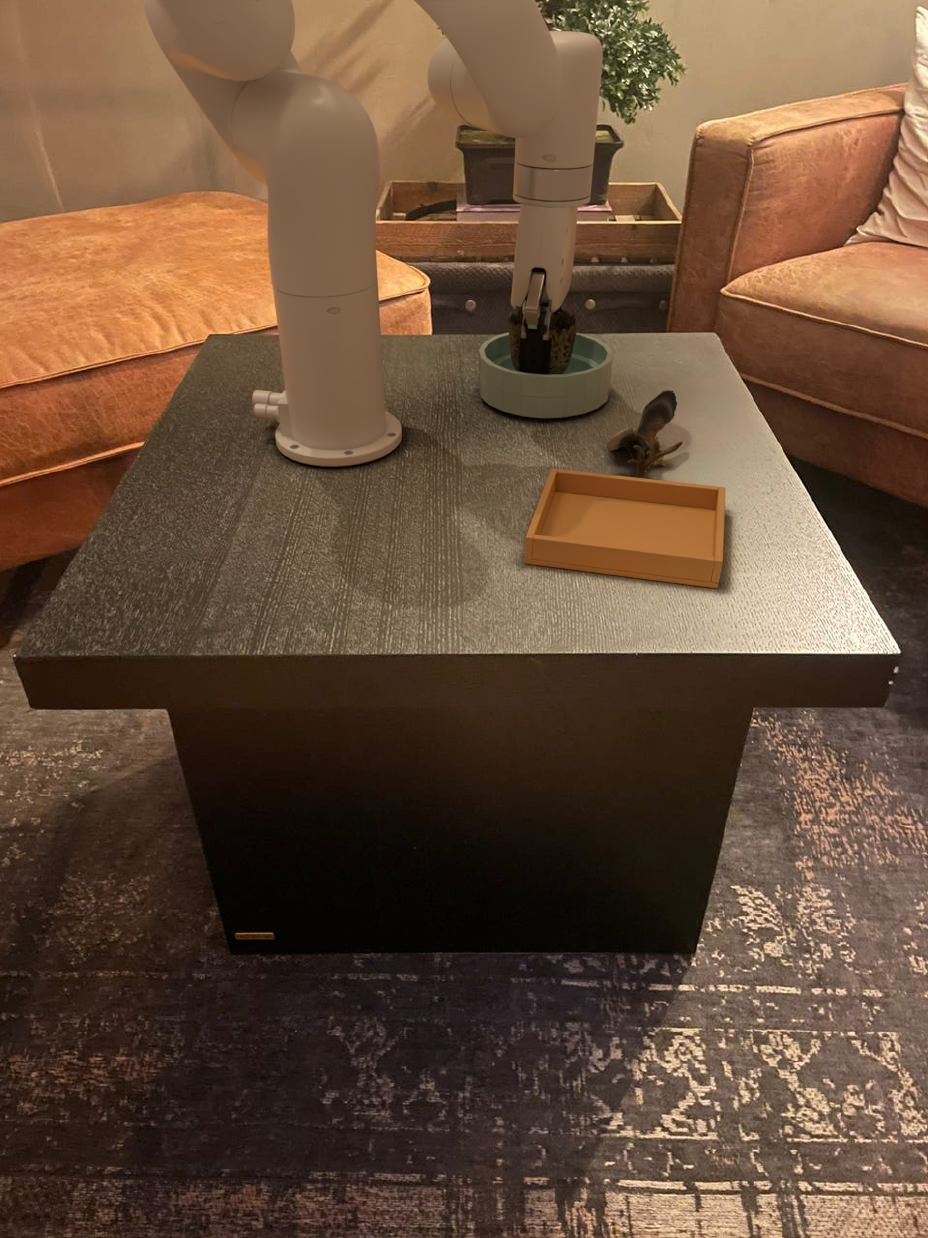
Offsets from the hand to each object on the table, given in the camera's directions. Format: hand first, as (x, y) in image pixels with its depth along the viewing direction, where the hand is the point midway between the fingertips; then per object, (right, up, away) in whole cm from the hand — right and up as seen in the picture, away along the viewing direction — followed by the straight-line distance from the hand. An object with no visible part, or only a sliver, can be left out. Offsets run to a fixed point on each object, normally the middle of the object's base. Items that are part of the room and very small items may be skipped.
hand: (540, 360), depth 99 cm
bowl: (+1, -3, +3) cm, 4 cm away
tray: (+5, -21, -22) cm, 31 cm away
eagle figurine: (+9, -13, -11) cm, 19 cm away
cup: (0, -3, +2) cm, 4 cm away
